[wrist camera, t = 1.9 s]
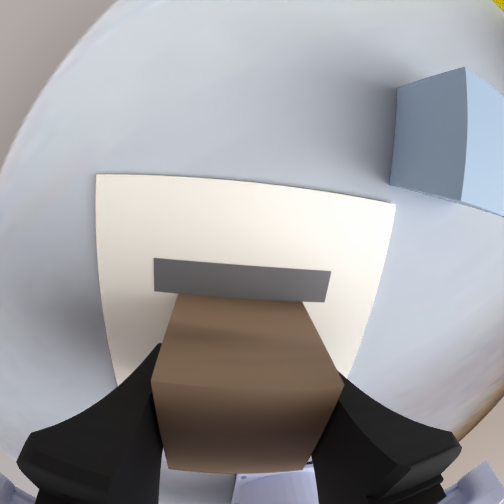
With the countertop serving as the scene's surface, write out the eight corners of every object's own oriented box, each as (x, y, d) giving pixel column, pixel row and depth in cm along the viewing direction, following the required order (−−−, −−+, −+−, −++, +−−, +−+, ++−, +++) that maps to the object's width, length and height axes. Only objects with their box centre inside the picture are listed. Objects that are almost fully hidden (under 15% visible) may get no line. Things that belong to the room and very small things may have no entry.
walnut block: (282, 388, 13) (302, 470, 8) (181, 383, 12) (168, 468, 8) (301, 301, 11) (344, 384, 7) (178, 293, 11) (150, 380, 6)
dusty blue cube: (454, 202, 11) (520, 222, 7) (388, 184, 11) (460, 200, 6) (462, 119, 10) (527, 117, 6) (396, 88, 9) (465, 66, 5)
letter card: (321, 427, 15) (323, 432, 15) (130, 419, 14) (128, 424, 13) (391, 202, 11) (396, 204, 10) (100, 173, 10) (95, 174, 9)
